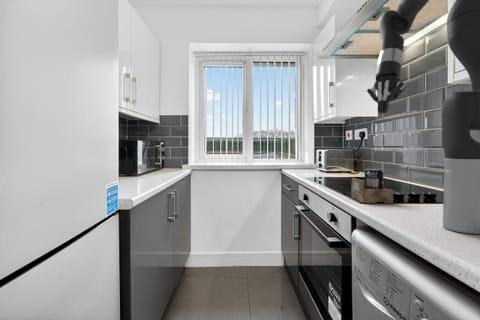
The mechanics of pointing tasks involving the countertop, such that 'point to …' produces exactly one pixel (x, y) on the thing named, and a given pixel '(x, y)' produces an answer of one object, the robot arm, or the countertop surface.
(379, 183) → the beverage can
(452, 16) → the robot arm
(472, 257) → the countertop surface
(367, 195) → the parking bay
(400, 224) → the countertop surface
